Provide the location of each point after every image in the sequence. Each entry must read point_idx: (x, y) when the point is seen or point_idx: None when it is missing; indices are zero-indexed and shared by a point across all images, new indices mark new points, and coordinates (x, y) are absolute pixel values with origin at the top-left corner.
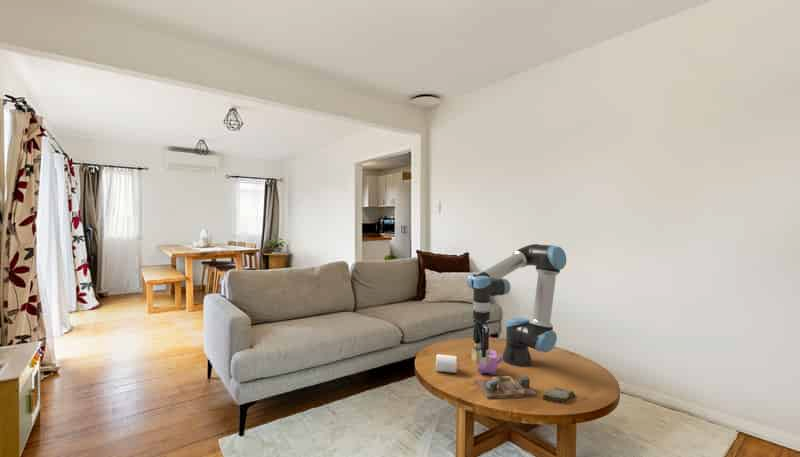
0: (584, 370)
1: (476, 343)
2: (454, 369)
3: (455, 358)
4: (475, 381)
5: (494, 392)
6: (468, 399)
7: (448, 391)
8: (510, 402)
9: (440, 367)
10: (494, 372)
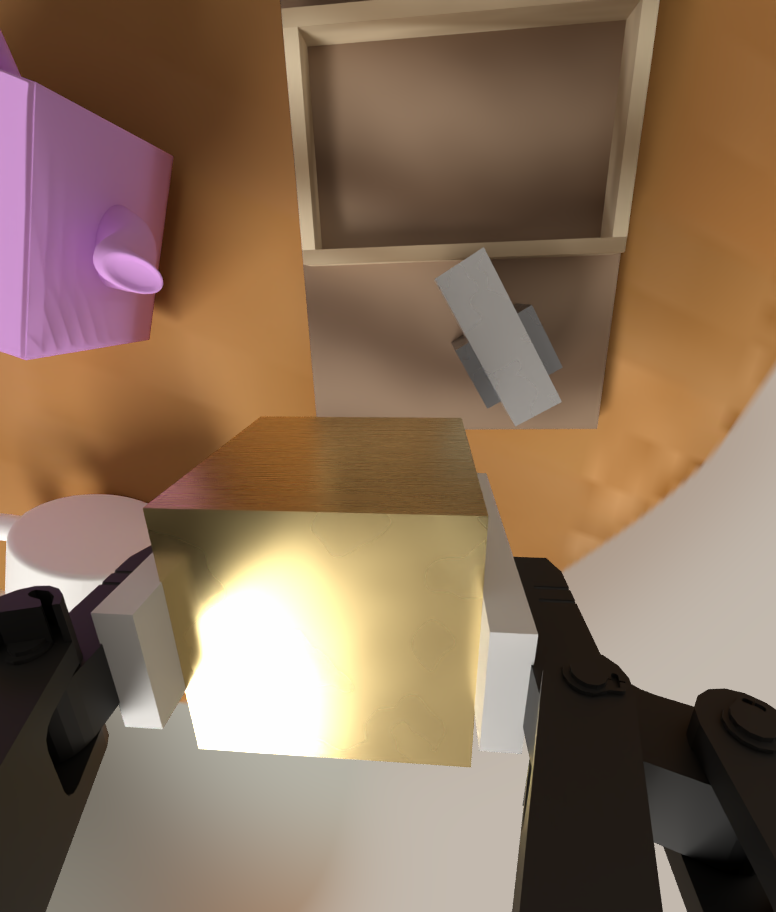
0: None
1: (115, 701)
2: None
3: (78, 585)
4: None
5: (551, 343)
6: (566, 551)
7: None
8: (695, 245)
9: None
10: (163, 177)
